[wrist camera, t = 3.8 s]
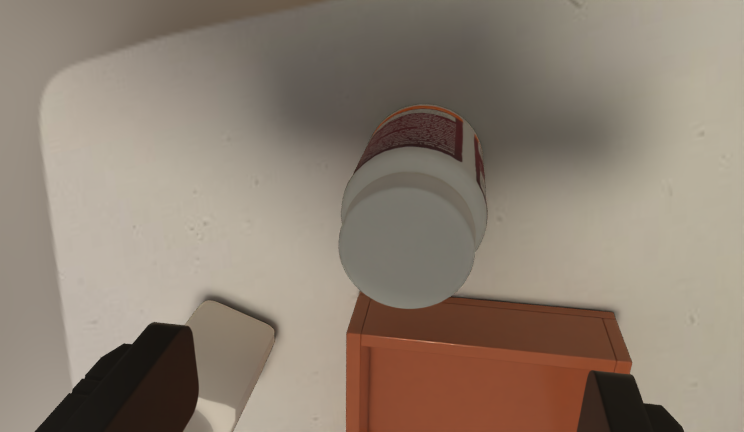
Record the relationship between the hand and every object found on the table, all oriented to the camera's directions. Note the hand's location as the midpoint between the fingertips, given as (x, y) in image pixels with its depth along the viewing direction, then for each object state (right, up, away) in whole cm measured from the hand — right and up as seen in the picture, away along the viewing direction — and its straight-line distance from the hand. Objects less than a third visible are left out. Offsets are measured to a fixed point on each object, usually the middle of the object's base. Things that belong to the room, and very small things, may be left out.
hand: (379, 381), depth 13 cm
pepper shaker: (-7, -3, +18) cm, 20 cm away
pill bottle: (+2, +6, +13) cm, 15 cm away
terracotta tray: (+5, -5, +18) cm, 19 cm away
